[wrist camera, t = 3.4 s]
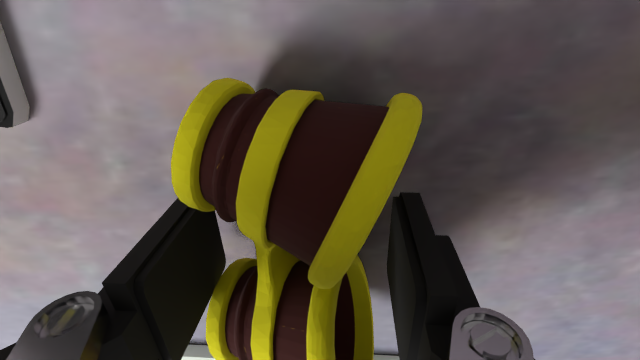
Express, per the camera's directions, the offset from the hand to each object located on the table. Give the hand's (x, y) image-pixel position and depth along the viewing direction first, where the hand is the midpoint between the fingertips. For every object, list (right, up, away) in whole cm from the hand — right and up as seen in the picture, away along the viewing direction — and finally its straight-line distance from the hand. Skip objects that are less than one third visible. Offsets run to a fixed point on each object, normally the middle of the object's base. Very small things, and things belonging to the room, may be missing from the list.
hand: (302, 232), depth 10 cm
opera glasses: (0, +1, +1) cm, 1 cm away
